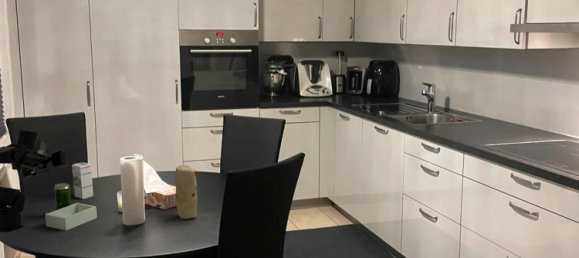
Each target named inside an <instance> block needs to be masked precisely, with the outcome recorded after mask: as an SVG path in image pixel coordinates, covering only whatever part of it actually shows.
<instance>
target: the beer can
mask: <svg viewBox="0 0 579 258" xmlns="http://www.w3.org/2000/svg"><path fill="white" fill-rule="evenodd" d="M54 200H55V211H56V210H59V209H62V208H64V207H67V206H70V205H72V204H71V203H72V201H71V189H70V184H69V183H65V182H64V183H63V182H62V183H56V184H55V185H54Z"/></svg>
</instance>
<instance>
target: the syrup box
mask: <svg viewBox="0 0 579 258" xmlns="http://www.w3.org/2000/svg"><path fill="white" fill-rule="evenodd" d="M71 169H72V170H71V171H72V182H73V193H74V195H73V196H74V197H75V198H77V199H80V200H85V199H88V198H91V197H94V188H93V186H94V185H93V177H92V176H93V175H92V164H91V163H87V162H83V161H82V162H78V163H74V164H72V165H71Z"/></svg>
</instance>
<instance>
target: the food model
mask: <svg viewBox="0 0 579 258" xmlns="http://www.w3.org/2000/svg"><path fill="white" fill-rule="evenodd" d="M197 185H198V184H197V170H196V169H195V168H194V167H192V166H189V165H184V164H183V165H182V164H181V165H179V166H177V167H176V168H175V203H176V204H175V205H176V210H177V215H178V216H179V218H181V219H183V220H186V219H194V218H196V217H197V215H198V187H197Z"/></svg>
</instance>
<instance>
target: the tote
mask: <svg viewBox="0 0 579 258" xmlns="http://www.w3.org/2000/svg"><path fill="white" fill-rule="evenodd" d="M97 213H98V212H97V206H95V205H89V204H85V203H81V202H76V203H72V204H71V205H70V206H67V207H64V208H62V209H59V210H56V209H55V210H53V211H51V212H48V213H45V214H44V215H45V226H46V227H49V228H53V229H58V230H61V231H62V230H63V231H68V230H71V229H73V228H76V227H77V226H80V225H84V224H85V223H88V222H90V221H92V220H95V219H97V218H98V215H97Z"/></svg>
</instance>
